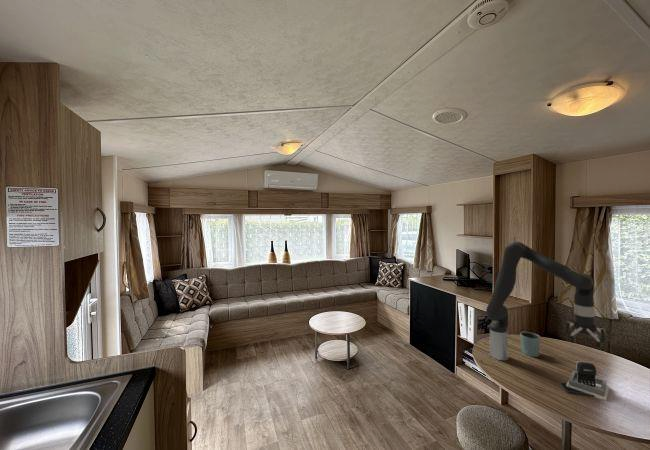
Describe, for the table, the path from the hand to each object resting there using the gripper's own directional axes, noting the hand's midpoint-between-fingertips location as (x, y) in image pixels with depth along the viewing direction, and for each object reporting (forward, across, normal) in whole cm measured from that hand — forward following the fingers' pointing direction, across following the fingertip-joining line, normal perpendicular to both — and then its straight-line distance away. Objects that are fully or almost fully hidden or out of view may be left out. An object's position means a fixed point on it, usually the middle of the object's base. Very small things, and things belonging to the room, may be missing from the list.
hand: (585, 345), depth 133 cm
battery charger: (+20, 0, 0) cm, 20 cm away
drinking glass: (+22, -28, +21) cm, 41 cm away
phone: (+22, -2, -5) cm, 23 cm away
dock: (+22, 0, 0) cm, 22 cm away
